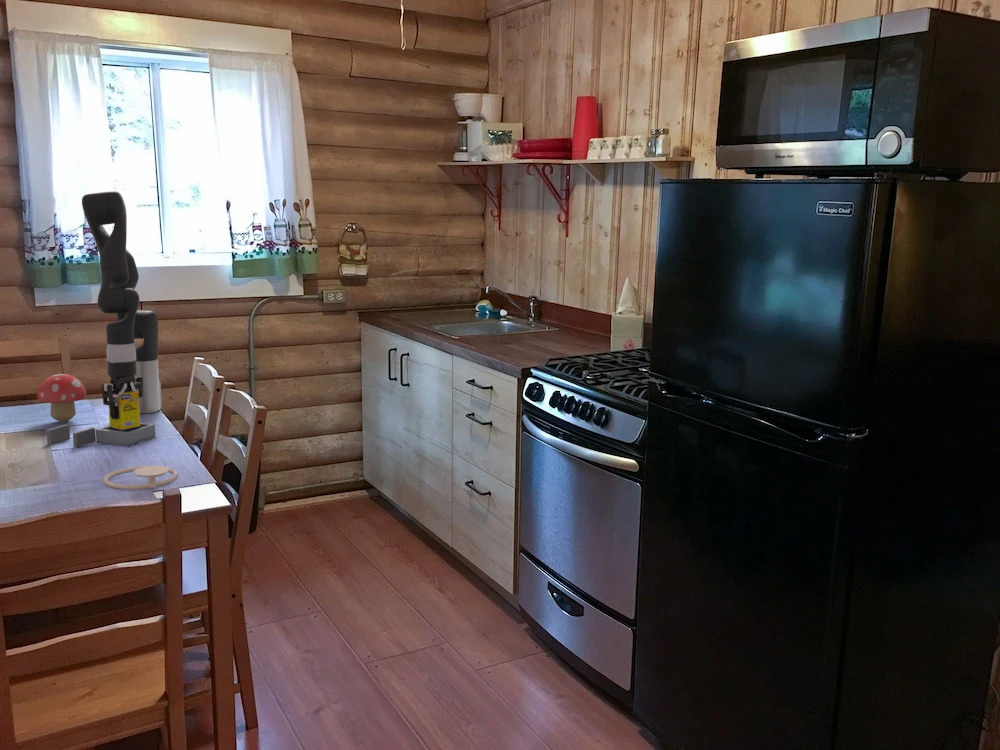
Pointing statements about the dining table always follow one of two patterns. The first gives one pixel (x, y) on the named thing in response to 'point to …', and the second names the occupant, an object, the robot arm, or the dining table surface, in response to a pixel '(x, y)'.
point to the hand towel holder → (143, 472)
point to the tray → (125, 435)
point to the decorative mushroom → (61, 395)
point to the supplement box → (127, 412)
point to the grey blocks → (64, 433)
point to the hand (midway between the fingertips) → (124, 415)
